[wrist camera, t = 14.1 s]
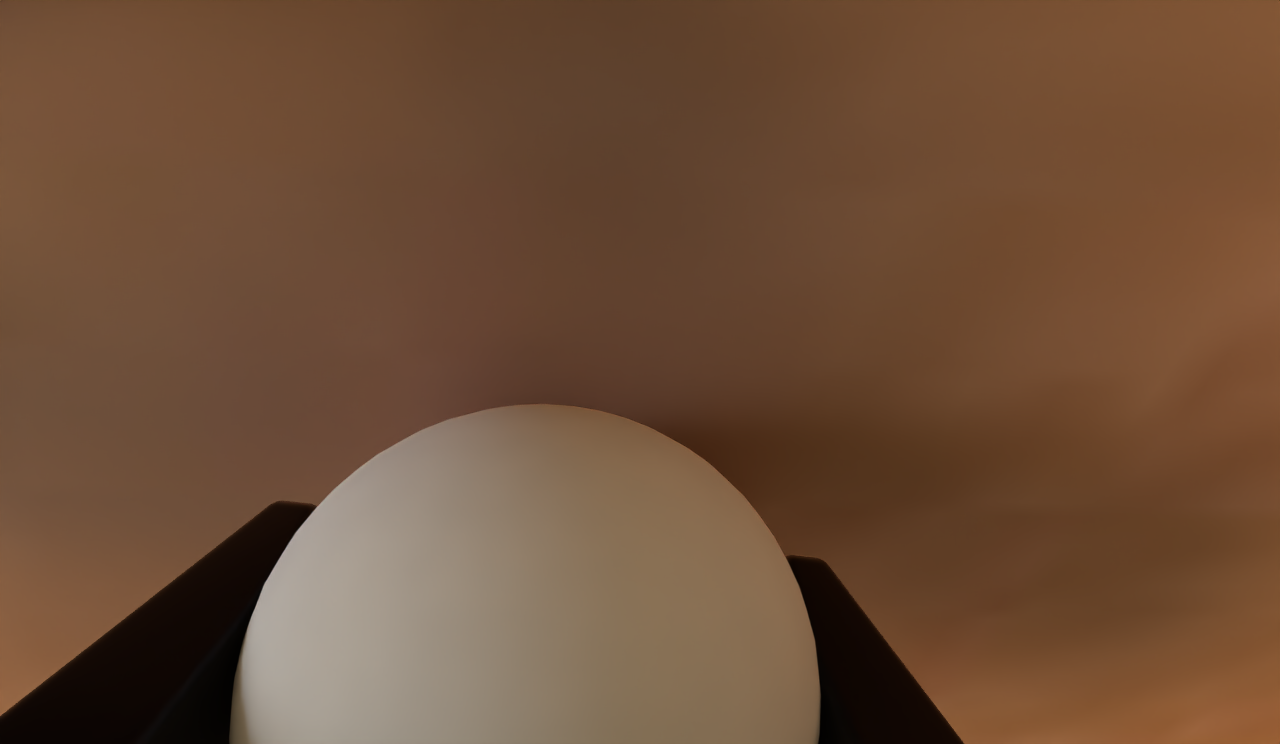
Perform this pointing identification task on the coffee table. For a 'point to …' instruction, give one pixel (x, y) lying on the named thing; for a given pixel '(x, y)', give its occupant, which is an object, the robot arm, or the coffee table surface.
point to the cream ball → (530, 598)
